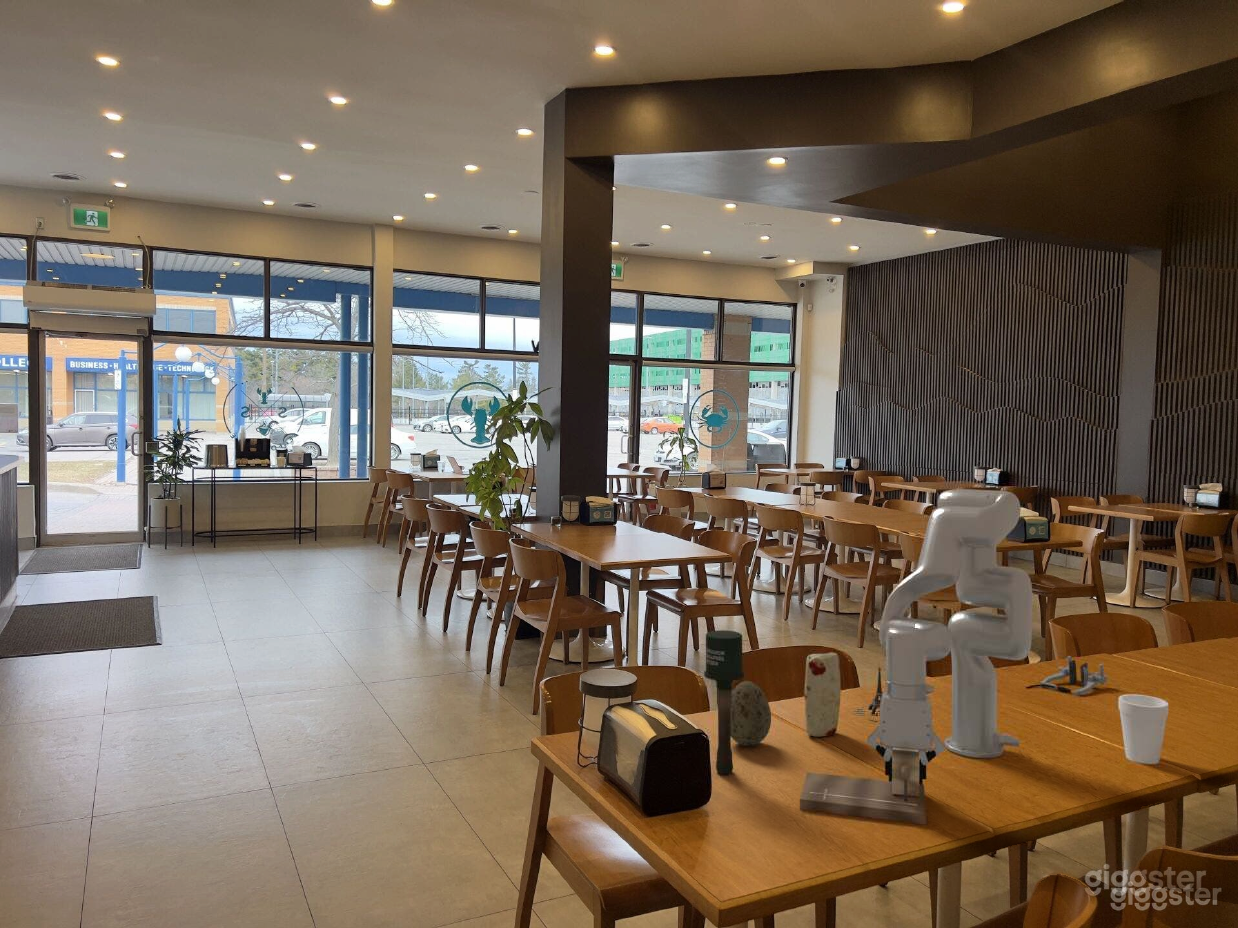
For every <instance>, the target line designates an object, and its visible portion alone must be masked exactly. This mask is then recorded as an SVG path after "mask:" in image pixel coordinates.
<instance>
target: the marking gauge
mask: <svg viewBox="0 0 1238 928" xmlns="http://www.w3.org/2000/svg"><path fill="white" fill-rule="evenodd" d="M891 755H892V794H900V795H904V801H906V802H907V795H909V796H918V797H919V761H920V756H919V752H918V750H914V749H903V748H893V751H892V754H891Z"/></svg>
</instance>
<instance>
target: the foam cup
mask: <svg viewBox="0 0 1238 928" xmlns="http://www.w3.org/2000/svg"><path fill="white" fill-rule="evenodd" d="M1118 710H1119V715H1120V722H1121V729H1122V738H1123V743H1124V744H1123V745H1124V751H1125V752H1124V753H1125V758H1126V759H1127V760H1130V761H1131V762H1135V763H1138V764H1144V765H1145V764H1146V765H1157V764H1159V763H1160V758H1161V753H1162V752H1161V751H1162V746H1163V740H1164V734H1165V728H1166V723H1167V717H1168V716H1169V702H1167V701H1166V700H1164V699H1161V698H1158V697H1155V696H1149V695H1146V694H1136V693H1135V694H1123V695H1119V697H1118Z"/></svg>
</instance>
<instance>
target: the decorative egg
mask: <svg viewBox="0 0 1238 928" xmlns="http://www.w3.org/2000/svg"><path fill="white" fill-rule="evenodd" d="M771 712H772V711H771V707H770V704H769V701H768V698H767V697H766V695H765V693H764V692H763V691H762V689H761V688H760V687H759V686H758V685H757V684H756V683H754V682H752V681H751V680H750V681H748V680H745V681H742V682H740V683H738V684H737V685H736V686H735V687H734V688H733V690H732V704H731V739H732V740H734V742H736V743H738V744H739V745H741V746H745V747H753V746H756V745H758V744H760V743H761V742H763V740H764V739H765V738H766V737H767V735H768V733H770V729H771V726H772V725H771V724H772V713H771Z"/></svg>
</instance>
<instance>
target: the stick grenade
mask: <svg viewBox="0 0 1238 928" xmlns="http://www.w3.org/2000/svg"><path fill="white" fill-rule="evenodd" d="M703 674H704V676H703V677H705V678H706V679H709V680H712V681H715V683H716V686H715V687H716V705H717V745H718V746H717V750H716V762H715V763H716V765H715V769H716V772H717V773H718V774H719V775H723V776H724V775H725V776H726V775H731V774H732V773H733V770H734V763H733V751H732V747H731V746H732V745H731V743H732V742H731V739H732V737H731V704H732V691H733V690H732V688H733V682H735V681H739V680H743V678H745V671H744V670H743V635H742V633H740V632H738V631H734V630H724V629H723V630H712V631H708V632H707V633H706V634H705V671H704V672H703Z"/></svg>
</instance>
